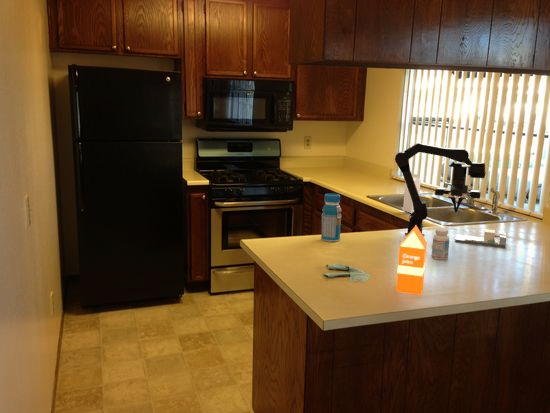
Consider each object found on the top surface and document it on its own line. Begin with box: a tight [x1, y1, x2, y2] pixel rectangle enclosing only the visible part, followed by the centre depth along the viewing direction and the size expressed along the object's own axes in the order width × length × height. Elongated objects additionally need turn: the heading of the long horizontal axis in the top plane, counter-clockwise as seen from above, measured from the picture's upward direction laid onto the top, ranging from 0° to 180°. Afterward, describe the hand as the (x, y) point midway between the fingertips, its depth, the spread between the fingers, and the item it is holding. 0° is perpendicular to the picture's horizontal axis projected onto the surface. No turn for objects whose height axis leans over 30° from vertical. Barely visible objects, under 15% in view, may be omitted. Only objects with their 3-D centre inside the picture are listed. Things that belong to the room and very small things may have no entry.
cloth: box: [323, 262, 372, 283], centre depth 172 cm, size 20×22×2 cm
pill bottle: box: [431, 228, 450, 261], centre depth 191 cm, size 6×6×11 cm
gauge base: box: [454, 231, 507, 249], centre depth 216 cm, size 20×10×4 cm, turn 66°
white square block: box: [483, 228, 500, 241], centre depth 212 cm, size 8×8×4 cm
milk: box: [402, 173, 422, 213], centre depth 276 cm, size 6×6×22 cm
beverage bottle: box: [320, 193, 342, 243], centre depth 214 cm, size 8×8×20 cm
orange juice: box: [396, 225, 428, 296], centre depth 156 cm, size 8×9×20 cm
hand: (455, 211), depth 220 cm, fingers closed
